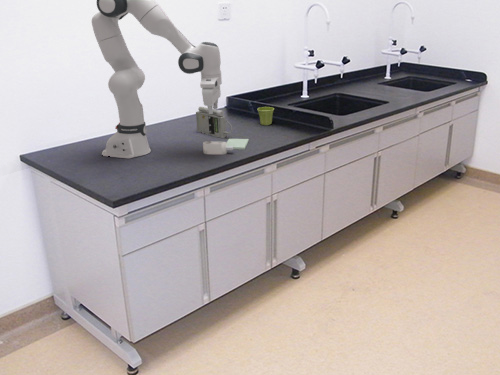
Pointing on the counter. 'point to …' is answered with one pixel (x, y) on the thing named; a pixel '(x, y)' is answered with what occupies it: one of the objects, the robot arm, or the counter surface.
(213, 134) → the geiger counter
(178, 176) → the counter surface
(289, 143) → the counter surface
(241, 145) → the green mat
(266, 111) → the plant pot
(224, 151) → the connector
